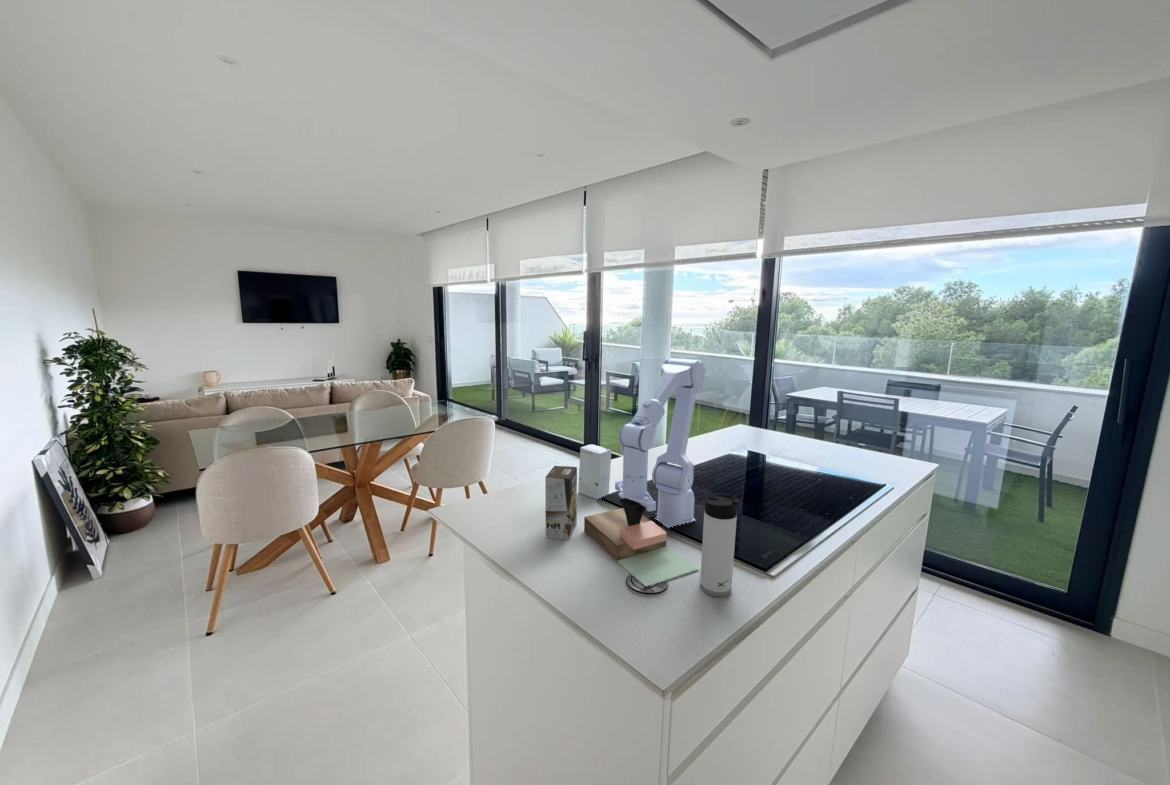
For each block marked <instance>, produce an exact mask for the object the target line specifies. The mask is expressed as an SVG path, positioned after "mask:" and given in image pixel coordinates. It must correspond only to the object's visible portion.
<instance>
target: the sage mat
mask: <svg viewBox="0 0 1170 785" xmlns="http://www.w3.org/2000/svg"><path fill="white" fill-rule="evenodd" d="M617 563H618V564H619V565H620V566H621V567H622V568H624V569H625V571H627V573H629V575H630V576H632V577H633V576H634V577H635V578H636V579H638V580H639V581H640V582H641V583H642V584H643V585H645V586H649V585H653V584H656V585H658V584H657V583H659V584H662V583H665V582H668V581H671V580H674V579H677V578H681V577H684V576H686V575H688V574H692V573H695V572H698V571H699V568H697V567H696V566H694V565H693V564H692V563H691V562H689V561H688V560H687V559H685V558H684V557H682V556H681V555H680V554H679V553H677V552H676V551H675V550H673V549H672V548H670V547H669V546H667V545H666V547H662V548H659V549H655V550H652V551H648V552H645V553H642V554H638V555H635V556H631V557H628V558H624V559H621V560H618V561H617ZM634 577H633V578H634ZM635 578H634V579H635ZM636 579H635V580H636ZM639 581H638V582H639ZM640 582H639V583H640ZM661 582H662V583H661ZM641 583H640V584H641ZM642 584H641V585H642ZM643 585H642V586H643ZM653 586H654V585H653Z"/></svg>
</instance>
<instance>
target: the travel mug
mask: <svg viewBox="0 0 1170 785" xmlns="http://www.w3.org/2000/svg"><path fill="white" fill-rule="evenodd" d="M740 504H741V503H740V499H739V498H736V497H735V496H732V495H729V494H714V495H713V494H712V495H710V496H708V497H707V498H706V499H705V501H704V512H703V528H702V543H701V544H702V546H701V547H702V548H701V562H700V563H701V564H700V580H699V587H700V588H701V590H702V591H703V592H704V593H706V594H707V595H710V596H712V597H720V598H722V597H726V596H728V595H730V594H731V593H732V586H733V575H734V574H733V573H734V560H735V558H734V557H735V546H736V545H735V544H736V533H737V517H738V516H737V513H738V512H737V511H738V506H739V505H740Z"/></svg>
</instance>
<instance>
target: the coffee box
mask: <svg viewBox="0 0 1170 785" xmlns="http://www.w3.org/2000/svg"><path fill="white" fill-rule="evenodd" d="M544 492H545V538H549V539H558V540H566V541H569V540H570V539H571V536H572V535H573V532H574V530H575V528H576V526H577V524H578V519H577V518H578V504H577V503H578V495H577V494H578V467H577V466H570V465H569V466H568V465H567V466H566V465H560V466H559V465H553V467H552V468H551V469H550V471H549V472H548V473H547V474H546V476H545V491H544Z"/></svg>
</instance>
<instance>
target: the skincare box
mask: <svg viewBox="0 0 1170 785" xmlns="http://www.w3.org/2000/svg"><path fill="white" fill-rule="evenodd" d="M579 448H580V449H579V450H580V452H579V466H578V467H579V470H578V483H577V494H580V495H584V496H587V497H590V498H593V499H595V500H600V499H602V498H604V497H606V495H607V496H609V495H608V494H610V478H611V462H612V449H609V448H605V447H603V446H599V445H596V444H587V445H584V446H581V447H579ZM603 496H604V497H603ZM601 497H602V498H601ZM599 498H600V499H599Z"/></svg>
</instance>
